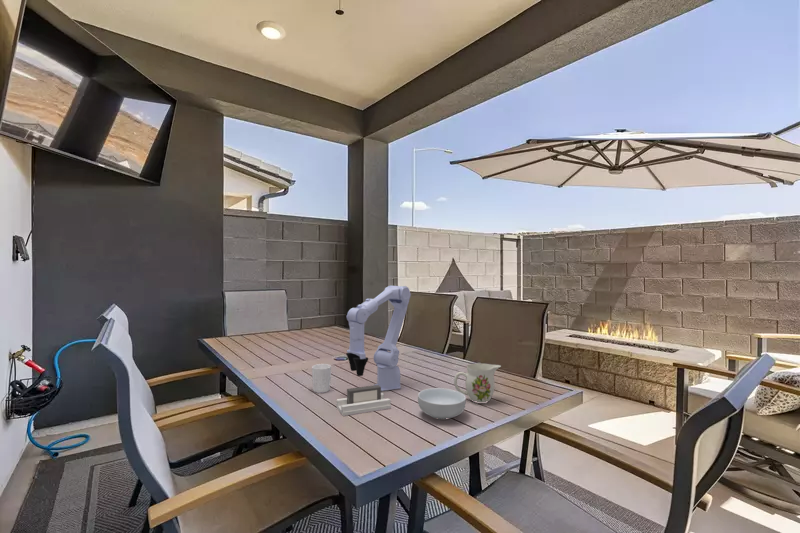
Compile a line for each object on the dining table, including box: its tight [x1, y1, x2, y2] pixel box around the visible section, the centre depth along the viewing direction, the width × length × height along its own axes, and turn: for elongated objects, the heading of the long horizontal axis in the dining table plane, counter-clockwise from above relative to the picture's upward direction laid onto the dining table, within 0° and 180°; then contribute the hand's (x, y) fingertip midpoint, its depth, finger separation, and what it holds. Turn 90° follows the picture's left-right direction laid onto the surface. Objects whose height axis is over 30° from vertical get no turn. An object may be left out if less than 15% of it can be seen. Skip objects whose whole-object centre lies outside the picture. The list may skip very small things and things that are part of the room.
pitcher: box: [453, 363, 502, 402], centre depth 147 cm, size 11×18×14 cm, turn 88°
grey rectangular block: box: [346, 384, 382, 404], centre depth 139 cm, size 12×3×6 cm, turn 114°
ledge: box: [335, 392, 392, 417], centre depth 139 cm, size 18×9×3 cm, turn 114°
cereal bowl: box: [417, 387, 467, 420], centre depth 133 cm, size 17×17×7 cm
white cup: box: [311, 363, 332, 394], centre depth 158 cm, size 8×8×10 cm
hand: (356, 373), depth 149 cm, fingers open, 7 cm apart
